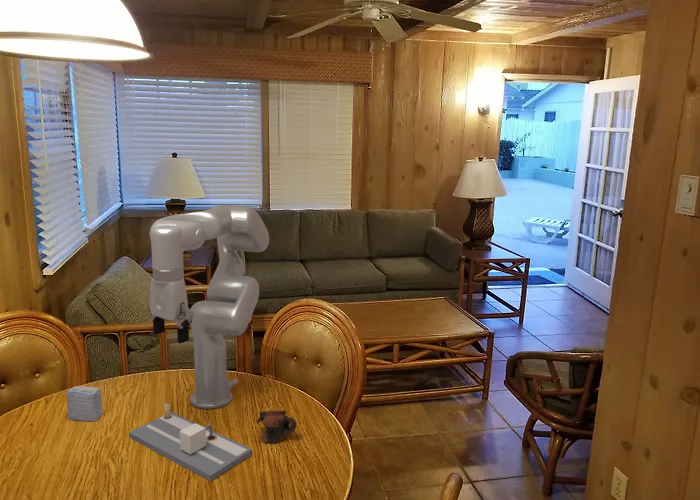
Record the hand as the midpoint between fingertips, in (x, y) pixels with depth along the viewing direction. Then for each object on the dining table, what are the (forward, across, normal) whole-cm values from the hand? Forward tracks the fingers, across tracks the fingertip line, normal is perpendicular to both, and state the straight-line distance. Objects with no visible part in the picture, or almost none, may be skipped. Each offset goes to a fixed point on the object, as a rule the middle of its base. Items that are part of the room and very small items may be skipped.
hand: (171, 337), depth 145 cm
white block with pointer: (+26, +11, -1) cm, 29 cm away
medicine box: (+29, -28, -9) cm, 41 cm away
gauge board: (+28, +7, -1) cm, 29 cm away
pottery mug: (+29, +22, +17) cm, 40 cm away
